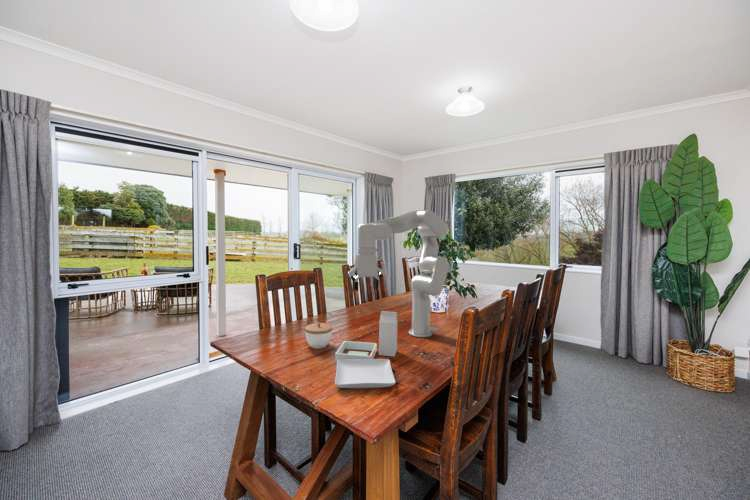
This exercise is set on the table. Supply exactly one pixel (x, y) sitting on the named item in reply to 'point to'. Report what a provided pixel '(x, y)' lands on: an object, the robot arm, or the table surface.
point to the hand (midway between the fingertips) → (366, 289)
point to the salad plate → (364, 373)
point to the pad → (358, 353)
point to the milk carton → (388, 333)
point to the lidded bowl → (318, 335)
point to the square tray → (355, 346)
